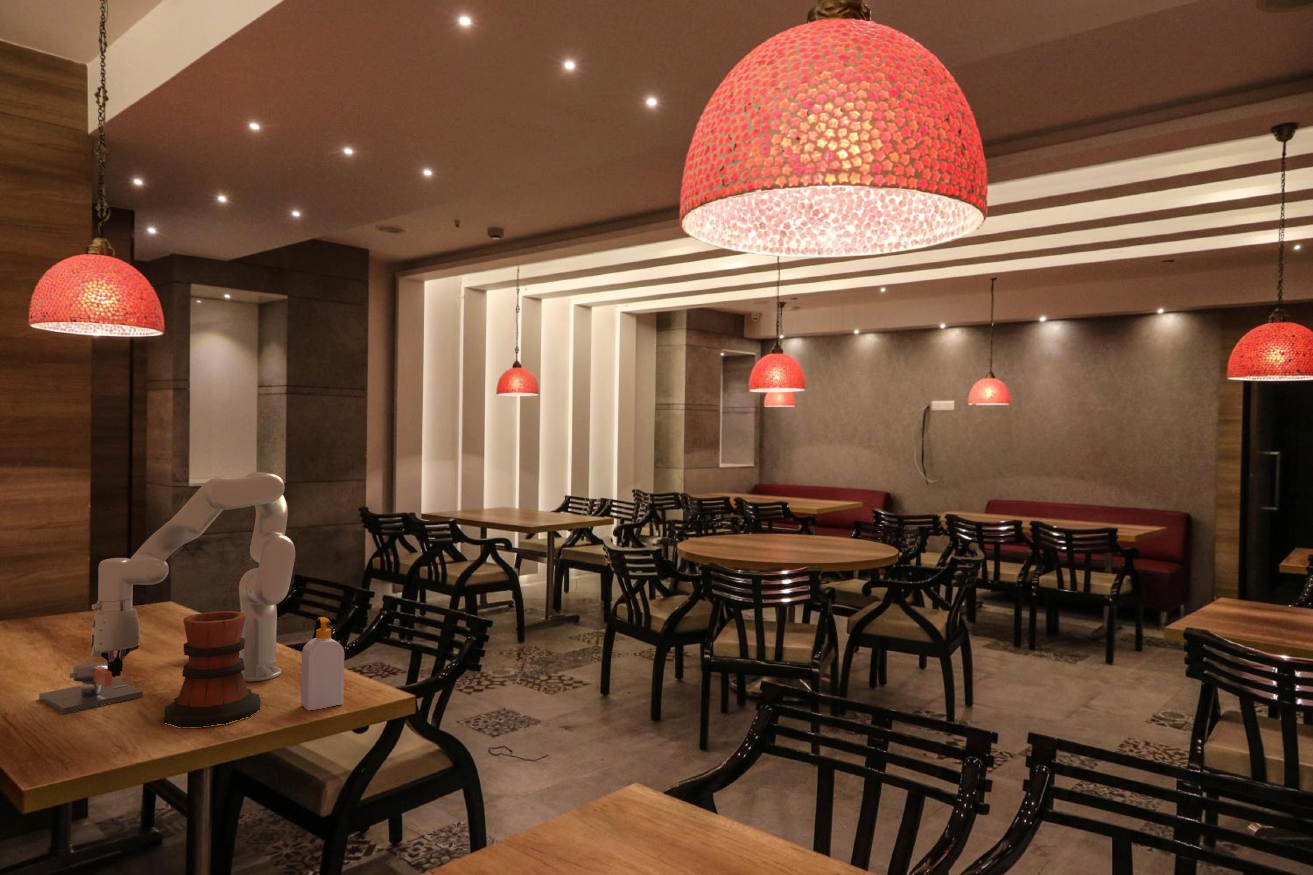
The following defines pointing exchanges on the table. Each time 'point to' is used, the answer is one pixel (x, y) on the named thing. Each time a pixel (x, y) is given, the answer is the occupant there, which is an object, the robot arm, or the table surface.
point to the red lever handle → (92, 673)
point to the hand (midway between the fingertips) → (114, 675)
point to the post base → (89, 696)
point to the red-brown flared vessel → (213, 673)
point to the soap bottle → (322, 670)
